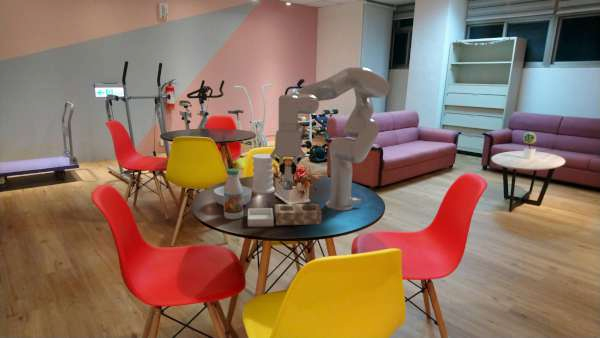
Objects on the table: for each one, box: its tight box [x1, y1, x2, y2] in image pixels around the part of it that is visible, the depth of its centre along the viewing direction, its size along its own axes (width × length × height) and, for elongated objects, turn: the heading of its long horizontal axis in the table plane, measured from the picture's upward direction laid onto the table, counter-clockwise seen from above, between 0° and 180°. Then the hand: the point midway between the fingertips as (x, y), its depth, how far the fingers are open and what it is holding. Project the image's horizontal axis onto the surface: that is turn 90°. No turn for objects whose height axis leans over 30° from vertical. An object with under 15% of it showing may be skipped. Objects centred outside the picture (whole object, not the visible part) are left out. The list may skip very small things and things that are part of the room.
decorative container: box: [251, 153, 276, 195], centre depth 187 cm, size 12×12×18 cm
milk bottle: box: [223, 168, 244, 220], centre depth 151 cm, size 8×8×20 cm
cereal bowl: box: [213, 185, 253, 207], centre depth 166 cm, size 17×17×7 cm
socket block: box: [274, 203, 323, 226], centre depth 151 cm, size 18×10×6 cm, turn 97°
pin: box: [282, 157, 294, 191], centre depth 147 cm, size 4×4×12 cm
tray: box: [247, 207, 275, 228], centre depth 150 cm, size 10×12×3 cm
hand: (287, 173), depth 147 cm, fingers closed on pin, 4 cm apart
